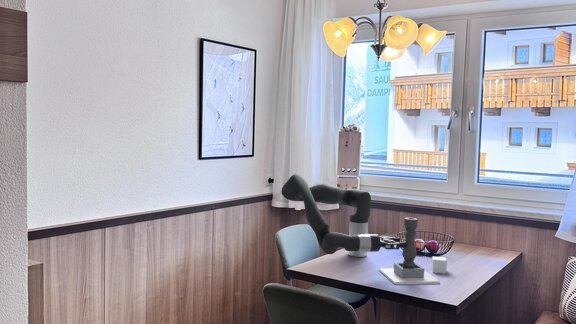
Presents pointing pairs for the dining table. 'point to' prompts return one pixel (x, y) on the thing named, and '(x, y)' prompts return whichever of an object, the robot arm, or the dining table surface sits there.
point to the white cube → (439, 264)
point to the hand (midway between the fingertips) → (403, 242)
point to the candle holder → (410, 242)
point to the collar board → (408, 275)
